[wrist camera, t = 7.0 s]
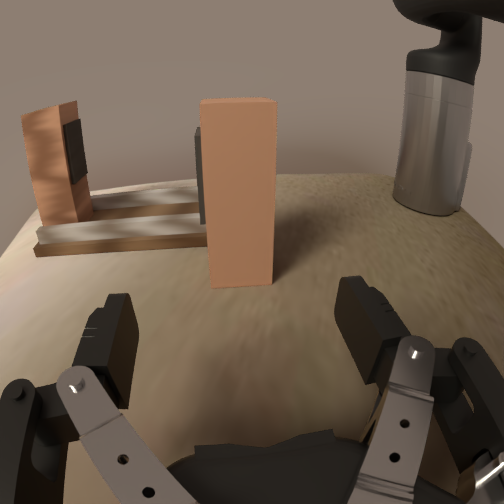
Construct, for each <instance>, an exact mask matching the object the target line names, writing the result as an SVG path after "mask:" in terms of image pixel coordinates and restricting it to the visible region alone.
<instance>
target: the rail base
mask: <svg viewBox="0 0 504 504" xmlns="http://www.w3.org/2000/svg"><path fill="white" fill-rule="evenodd" d="M21 120H22V127H23V135H24V141H25V148H26V153H27V159H28V165H29V170H30V174H31V179H32V184H33V189H34V192H35V197H36V201H37V205H38V209H39V213H40V217H41V221H42V224H43V226H42V227H39V228H38V229H37V231H36V233H37V237H38V240H39V242H38V243H37V244H36V246H35V247H34V248H33V249H34V252H35V255H36V257H43V256H58V255H73V254H88V253H103V252H119V251H135V250H151V249H167V248H184V247H201V246H208V244H207V231H206V224H204V225H200V214H199V201H198V187H197V186H193V187H179V188H165V189H153V190H142V191H131V192H121V193H111V194H102V195H93V196H90V192H89V187H88V181H87V175H86V174H87V173H88V172H87V165H86V159H85V152H84V146H83V137H82V129H81V121H80V119H79V118H78V108H77V101H73V102H69V103H64V104H60V105H56V106H52V107H48V108H44V109H40V110H37V111H34V112H31V113H28V114H24V115H22V116H21Z"/></svg>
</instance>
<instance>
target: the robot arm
mask: <svg viewBox="0 0 504 504" xmlns="http://www.w3.org/2000/svg"><path fill="white" fill-rule="evenodd" d="M393 2H394V4H395V7H396V8H397V9H398V11H399V12H400V13H401V14H402V15H403V16H404V17H406V18H407V19H409V20H411V21H413V22H416V23H418V24H421V25H425V26H428V27H432V28H435V29H438V30H441V39H440V43H439V45H437V46H436V47H433V48H429V49H418V50H413V51H410V52H409V53H408V55H407V60H406V70H407V71H406V81H405V97H404V109H403V121H402V130H401V139H400V148H399V155H398V162H397V169H396V177H395V181H394V189H393V197H394V198H395V199H396V200H397V201H398V202H399V203H401V204H403V205H405V206H406V207H409V208H411V209H414V210H417V211H419V212H423V213H427V214H432V215H450V214H452V213H453V212H454V211H459V209H460V205H461V201H462V197H463V192H464V188H465V183H466V178H467V173H468V168H469V163H470V158H471V151H472V144H471V143H469V142H468V138H469V131H470V123H471V115H472V104H473V94H474V80H475V74H476V71H477V69H478V66H479V63H480V56H481V39H482V17H484V18H488V19H491V20H494V21H498V22H501V23H504V0H393ZM334 315H335V321H336V324H337V326H338V328H339V330H340V332H341V334H342V336H343V338H344V340H345V342H346V344H347V346H348V349H349V351H350V353H351V355H352V357H353V359H354V361H355V363H356V366H357V368H358V370H359V372H360V374H361V376H362V378H363V381H364V383H365V385H367V384H371V383H376V384H377V386H378V388H379V390H378V393H377V395H376V398H375V401H374V404H373V407H372V410H371V413H370V415H369V418H368V421H367V423H366V426H365V429H364V431H363V433H362V435H361V437H360V439H359V442H358V441H355V440H352V439H347V438H340V437H335V436H334V433H333V430H332V429H329V430H324V431H319V432H313V433H308V434H302V435H299V436H296V437H294V438H291V439H289V440H286V441H284V442H281V443H278V444H276V445H273V446H270V447H266V448H261V447H252V446H243V445H235V444H218V445H199V446H195V454H194V455H190V456H187V457H185V458H182V459H180V460H178V461H176V462H174V463H173V464H171V465H170V466H168V467H167V468H165V467H164V466H163V464H162V463H161V462H160V461H159V460H158V459H157V457H156V456H155V455H154V454H153V453H152V451H151V450H150V449H149V448H148V446H147V445H146V444H145V443H144V441H143V440H142V439H141V438H140V436H139V435H138V434H137V432H136V431H135V430H134V428H133V427H132V426H131V424H130V423H129V422H128V420H127V419H126V418H125V416H124V415H123V414H122V413H120V412H119V410H118V409H128V406H129V398H130V391H131V384H132V378H133V371H134V365H135V359H136V353H137V347H138V341H139V329H138V323H137V320H136V316H135V313H134V309H133V305H132V302H131V298H130V295H129V294H128V293H121V294H109V295H108V297H107V300H106V303H105V305H104V308H97V309H96V310H95V311H94V312H93V313H92V314H91V315H90V316H89V318H88V321H87V323H86V326H85V329H84V332H83V334H82V337H81V340H80V343H79V346H78V349H77V352H76V355H75V358H74V361H73V364H72V367H70V368H68V369H66V370H65V371H64V372H62V374H61V375H60V376H59V378H58V380H57V382H56V383H54V384H50V385H46V386H41V387H37V388H35V387H34V385H33V384H32V383H31V382H30V381H29V380H27V379H17V380H14V381H12V382H11V383H9V384H8V385H7V386H6V387H5V389H4V390H3V393H2V396H1V399H0V504H63V493H64V480H65V469H66V460H67V451H68V444H69V442H73V441H78V440H80V441H81V443H82V445H83V446H84V448H85V450H86V451H87V453H88V455H89V456H90V458H91V460H92V461H93V463H94V465H95V466H96V468H97V469H98V471H99V472H100V474H101V476H102V477H103V479H104V480H105V482H106V483H107V485H108V486H109V487H110V489H111V490H112V492H113V493H114V495H115V496H116V497H117V499H118V500H119V501H120V503H121V504H504V379H503V377H502V376H501V374H500V372H499V371H498V369H497V368H496V366H495V365H494V363H493V362H492V360H491V359H490V357H489V356H488V354H487V353H486V352H485V350H484V349H483V347H482V346H481V345H480V344H479V343H478V342H477V341H475V340H473V339H471V338H464V337H463V338H459V339H457V340H456V341H455V343H454V345H453V347H452V349H449V348H434V347H433V345H432V344H431V343H430V342H429V341H428V340H426V339H425V338H423V337H420V336H412V335H411V334H410V332H409V331H408V329H407V328H406V326H405V325H404V323H403V322H402V320H401V319H400V317H399V316H398V314H397V313H396V312H395V311H394V309H393V307H392V306H391V304H389V302H388V300H387V299H386V297H385V296H384V295H383V293H381V292H380V291H378V290H377V289H376V288H374V287H369V286H368V285H367V284H366V282H365V281H364V279H363V278H362V277H361V276H349V277H342V278H341V279H340V282H339V287H338V293H337V298H336V303H335V309H334ZM464 389H465V390H466V392H467V394H468V396H469V398H470V399H471V401H472V403H473V406H474V413H473V411H472V409H471V408H470V406H469V404H468V402H467V400H466V398H465V396H464V395H463V393H462V392H463V390H464ZM432 411H433V413H434V415H435V417H436V420H437V422H438V424H439V426H440V428H441V431H442V433H443V435H444V437H445V440H446V442H447V444H448V447H449V449H450V451H451V454H452V456H453V458H454V461H455V463H456V466H457V468H458V470H459V473H460V476H459V478H458V483H457V489H456V496H457V497H456V496H454V495H453V494H451V493H449V492H447V491H445V490H443V489H441V488H439V487H437V486H436V485H434V484H432V483H430V482H428V481H426V480H425V479H423V478H421V477H419V476H418V475H417V474H418V471H419V467H420V463H421V460H422V456H423V452H424V448H425V443H426V439H427V435H428V430H429V425H430V420H431V415H432Z"/></svg>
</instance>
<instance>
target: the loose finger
mask: <svg viewBox="0 0 504 504" xmlns="http://www.w3.org/2000/svg"><path fill="white" fill-rule="evenodd" d="M276 137H277V102H275V101H273V100H271V99H268V98H264V97H262V98H257V97H255V98H216V99H202V101H201V102H200V127H197V130H196V133H195V154H196V171H197V187H198V201H199V214H200V225H204V224H206V231H207V244H208V256H209V268H210V280H211V288H227V287H243V286H258V285H272V272H273V246H274V217H275V184H276V142H277V141H276V140H277V138H276Z"/></svg>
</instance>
